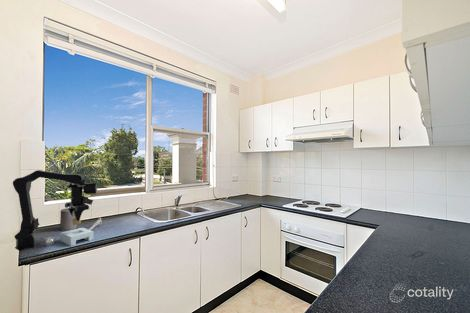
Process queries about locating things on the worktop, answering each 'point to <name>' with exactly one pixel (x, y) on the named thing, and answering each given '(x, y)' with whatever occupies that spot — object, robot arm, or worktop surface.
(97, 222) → the caliper
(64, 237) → the bridge jig
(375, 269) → the worktop surface
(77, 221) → the maple pin
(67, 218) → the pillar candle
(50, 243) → the aluminium pin
